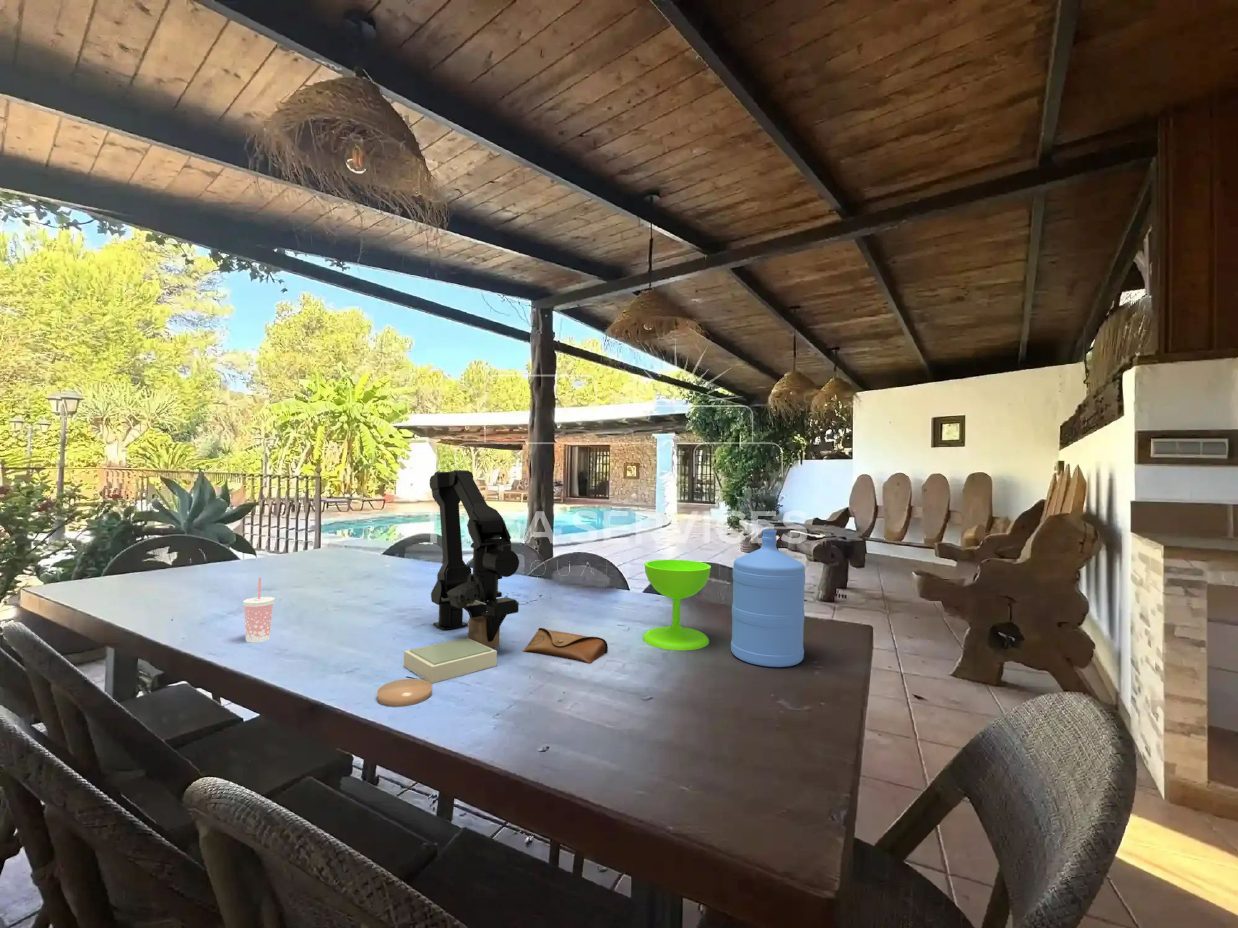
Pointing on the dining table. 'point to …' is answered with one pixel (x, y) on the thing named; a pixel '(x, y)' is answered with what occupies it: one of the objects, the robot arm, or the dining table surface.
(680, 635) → the wineglass
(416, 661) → the base
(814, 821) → the dining table surface
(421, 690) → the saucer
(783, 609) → the water jug
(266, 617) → the beverage cup
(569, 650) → the sunglasses case
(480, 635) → the block
